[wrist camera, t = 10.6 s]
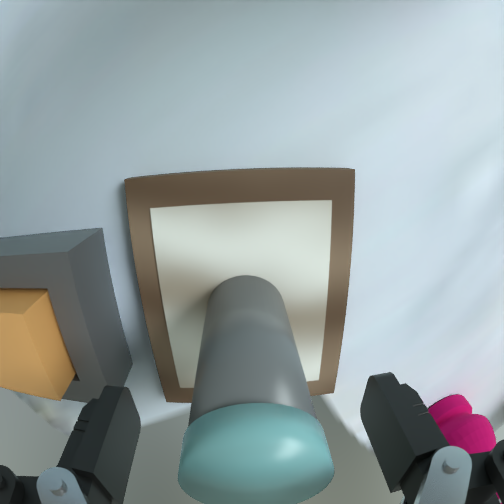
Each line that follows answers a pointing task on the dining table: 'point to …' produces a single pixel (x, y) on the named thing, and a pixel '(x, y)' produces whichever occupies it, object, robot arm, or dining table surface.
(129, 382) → the dining table surface
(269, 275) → the board
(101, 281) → the button housing
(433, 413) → the pepper mill
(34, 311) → the button
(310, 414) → the marker
